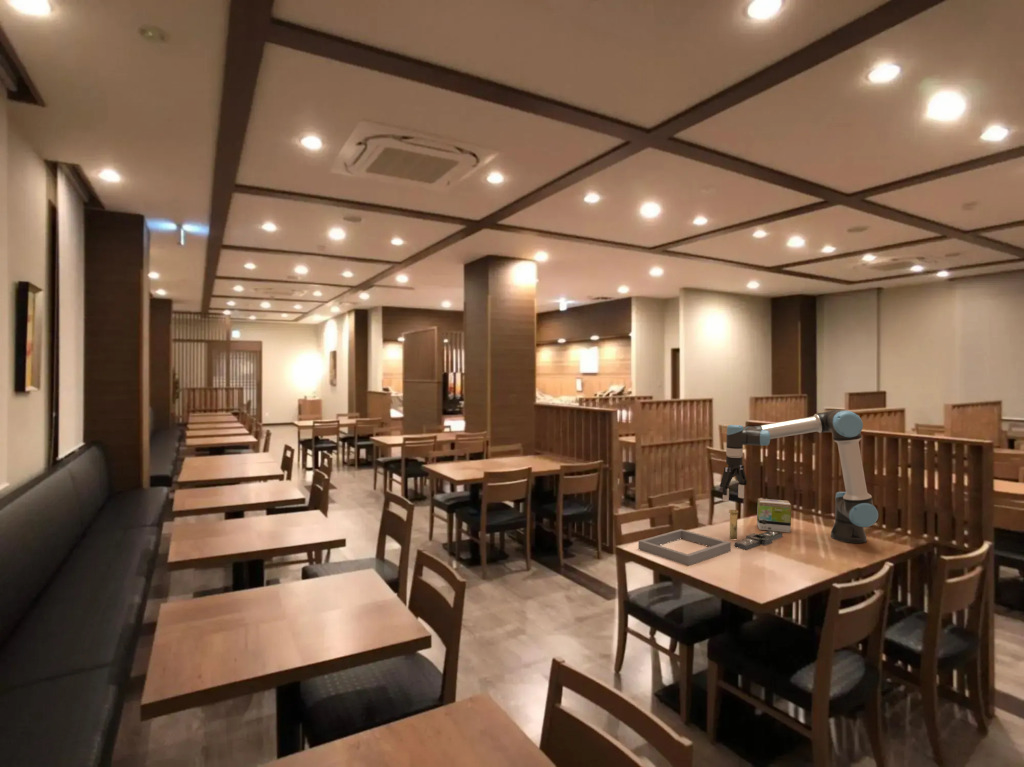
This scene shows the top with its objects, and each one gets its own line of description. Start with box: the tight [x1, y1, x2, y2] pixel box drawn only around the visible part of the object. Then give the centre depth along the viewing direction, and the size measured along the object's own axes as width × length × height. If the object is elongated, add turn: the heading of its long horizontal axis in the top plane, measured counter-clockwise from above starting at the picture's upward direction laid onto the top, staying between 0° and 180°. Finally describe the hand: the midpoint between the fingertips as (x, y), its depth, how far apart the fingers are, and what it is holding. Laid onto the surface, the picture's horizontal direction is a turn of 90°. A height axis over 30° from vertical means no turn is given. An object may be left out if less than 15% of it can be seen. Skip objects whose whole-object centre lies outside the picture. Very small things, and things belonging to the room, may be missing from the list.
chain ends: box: [733, 530, 784, 551], centre depth 272 cm, size 9×33×2 cm, turn 128°
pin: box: [728, 509, 739, 540], centre depth 276 cm, size 4×4×14 cm
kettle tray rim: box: [637, 528, 732, 566], centre depth 259 cm, size 27×32×4 cm
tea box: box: [756, 498, 792, 534], centre depth 294 cm, size 15×10×15 cm, turn 73°
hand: (733, 499), depth 276 cm, fingers open, 13 cm apart
